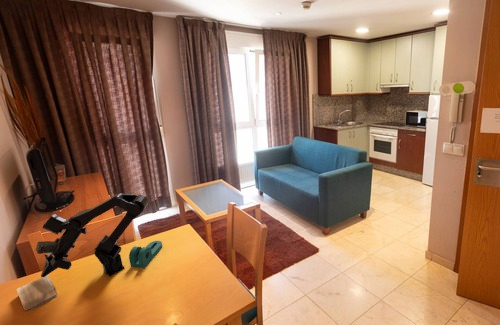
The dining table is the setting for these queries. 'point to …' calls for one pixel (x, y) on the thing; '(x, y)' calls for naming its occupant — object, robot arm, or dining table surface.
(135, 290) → the dining table surface
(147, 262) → the bracket
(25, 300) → the beige streaked flat block
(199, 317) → the dining table surface
